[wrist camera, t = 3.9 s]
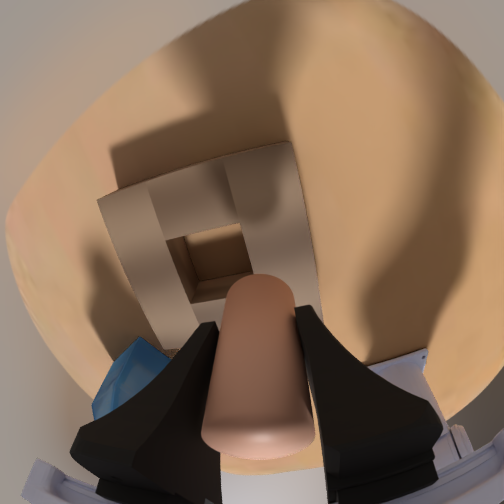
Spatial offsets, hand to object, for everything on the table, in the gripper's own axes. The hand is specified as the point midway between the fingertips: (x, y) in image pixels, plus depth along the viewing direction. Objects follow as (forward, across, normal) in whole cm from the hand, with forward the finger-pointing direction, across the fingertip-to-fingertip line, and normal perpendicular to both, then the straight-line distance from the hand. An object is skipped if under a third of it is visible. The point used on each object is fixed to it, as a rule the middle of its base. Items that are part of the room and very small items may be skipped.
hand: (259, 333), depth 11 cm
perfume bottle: (+9, +14, +11) cm, 20 cm away
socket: (+9, +3, -1) cm, 9 cm away
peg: (+2, 0, 0) cm, 2 cm away
